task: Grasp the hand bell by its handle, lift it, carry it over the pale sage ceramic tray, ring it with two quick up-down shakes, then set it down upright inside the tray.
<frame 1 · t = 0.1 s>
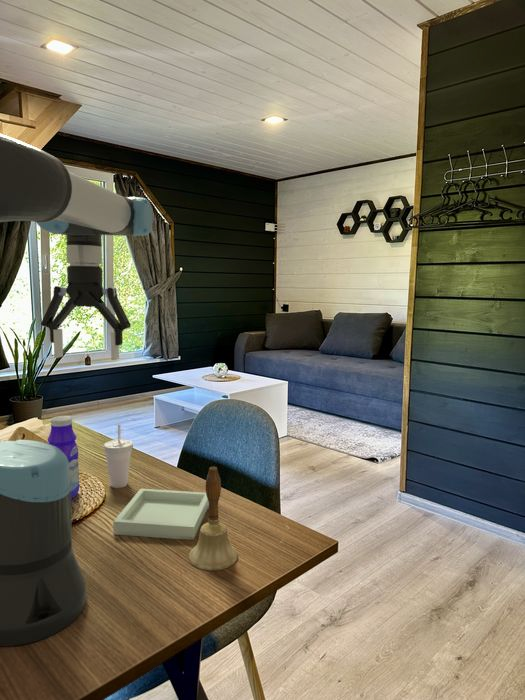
hand: (86, 358, 117), 28 cm above the table, fingers open, 13 cm apart
hand bell: (213, 558, 86), on the table
tray: (165, 518, 100), on the table
smoothie: (118, 485, 115), on the table
bottle: (64, 497, 108), on the table
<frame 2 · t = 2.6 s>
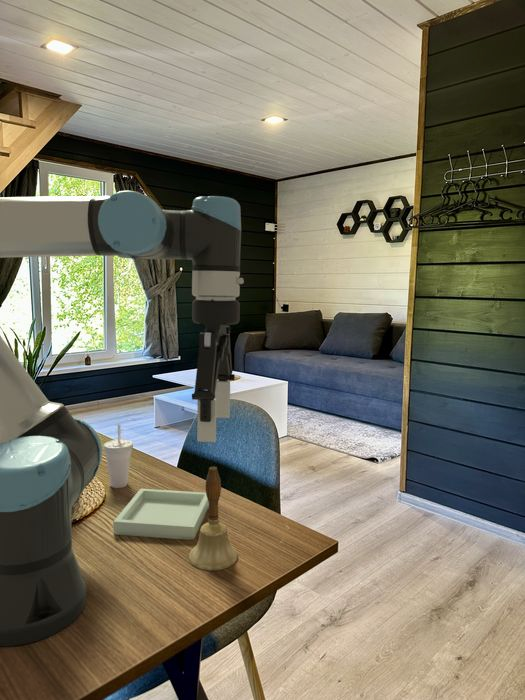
hand: (214, 428, 83), 22 cm above the table, fingers open, 13 cm apart
nothing on the table moved.
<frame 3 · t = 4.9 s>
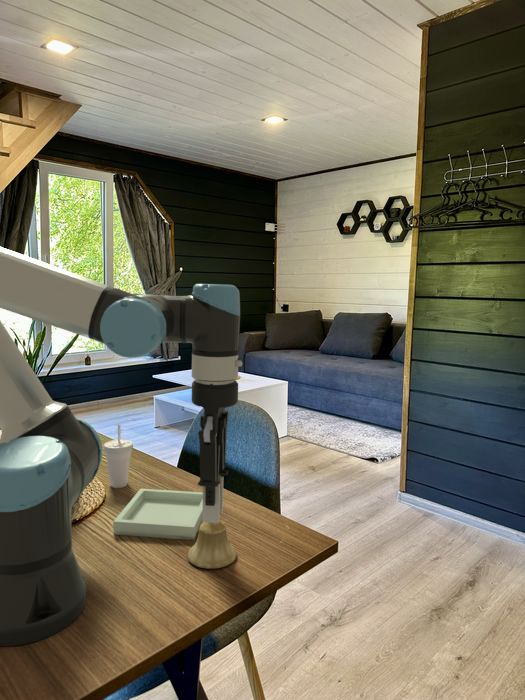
hand: (212, 516, 85), 7 cm above the table, fingers closed on hand bell, 2 cm apart
hand bell: (212, 556, 86), on the table, touching gripper
everything else where it was.
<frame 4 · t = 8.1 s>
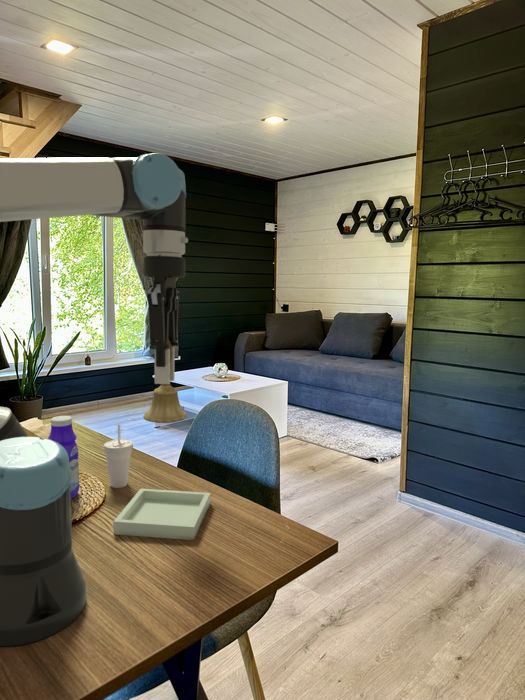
hand: (164, 381, 96), 27 cm above the table, fingers closed on hand bell, 2 cm apart
hand bell: (165, 418, 97), point 20 cm above the table, touching gripper
everything else where it was.
when the fingers open (9 cm above the table, at t = 11.7 s): hand bell drops 1 cm, resting on tray.
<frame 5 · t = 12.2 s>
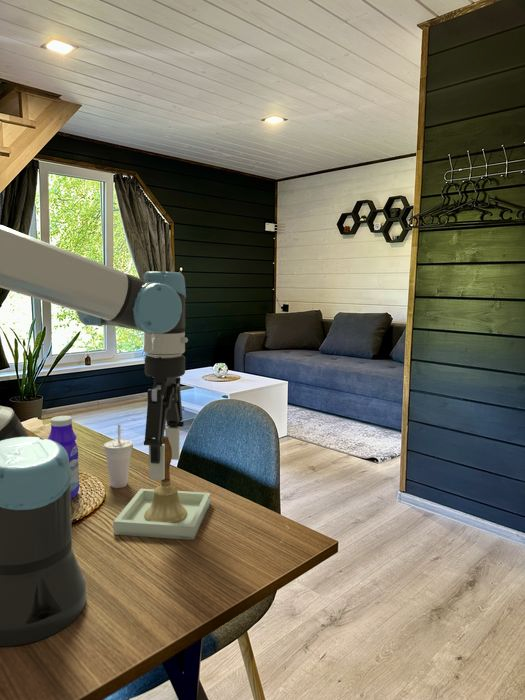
hand: (165, 468, 98), 10 cm above the table, fingers open, 10 cm apart
hand bell: (165, 515, 100), resting on tray
everything else where it was.
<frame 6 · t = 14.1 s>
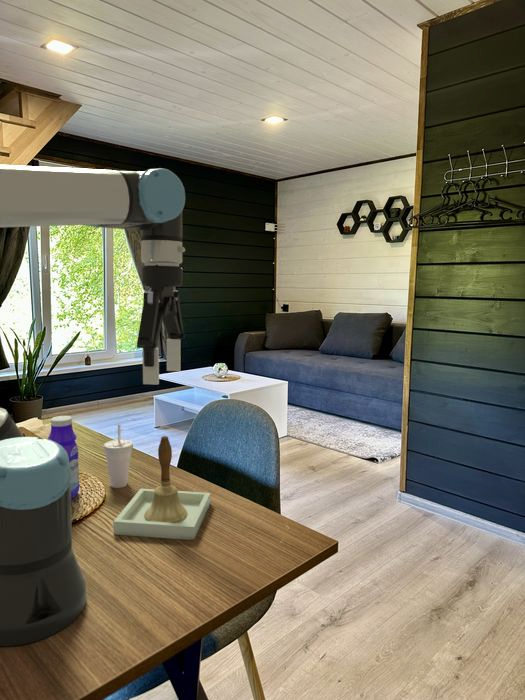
hand: (163, 377, 97), 28 cm above the table, fingers open, 13 cm apart
nothing on the table moved.
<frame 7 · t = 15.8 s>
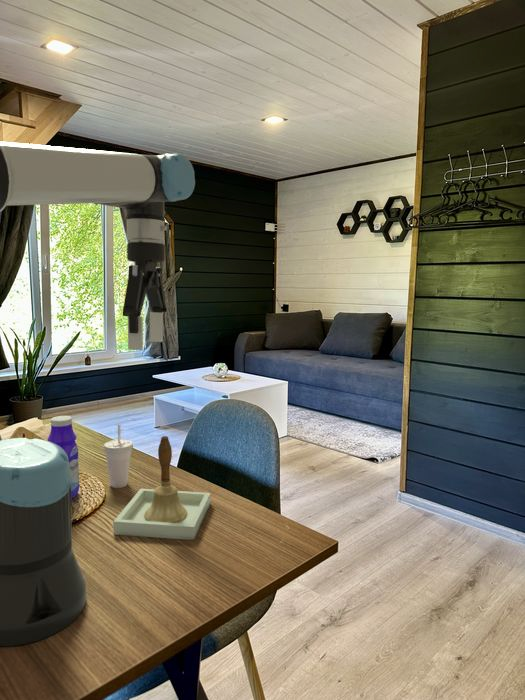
hand: (146, 345, 106), 33 cm above the table, fingers open, 13 cm apart
nothing on the table moved.
at the end: hand bell inside the target area on the tray (0.2 cm from its centre), point 0.4 cm above the tray's base; hand bell tilted 0°; the gripper is holding nothing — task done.
